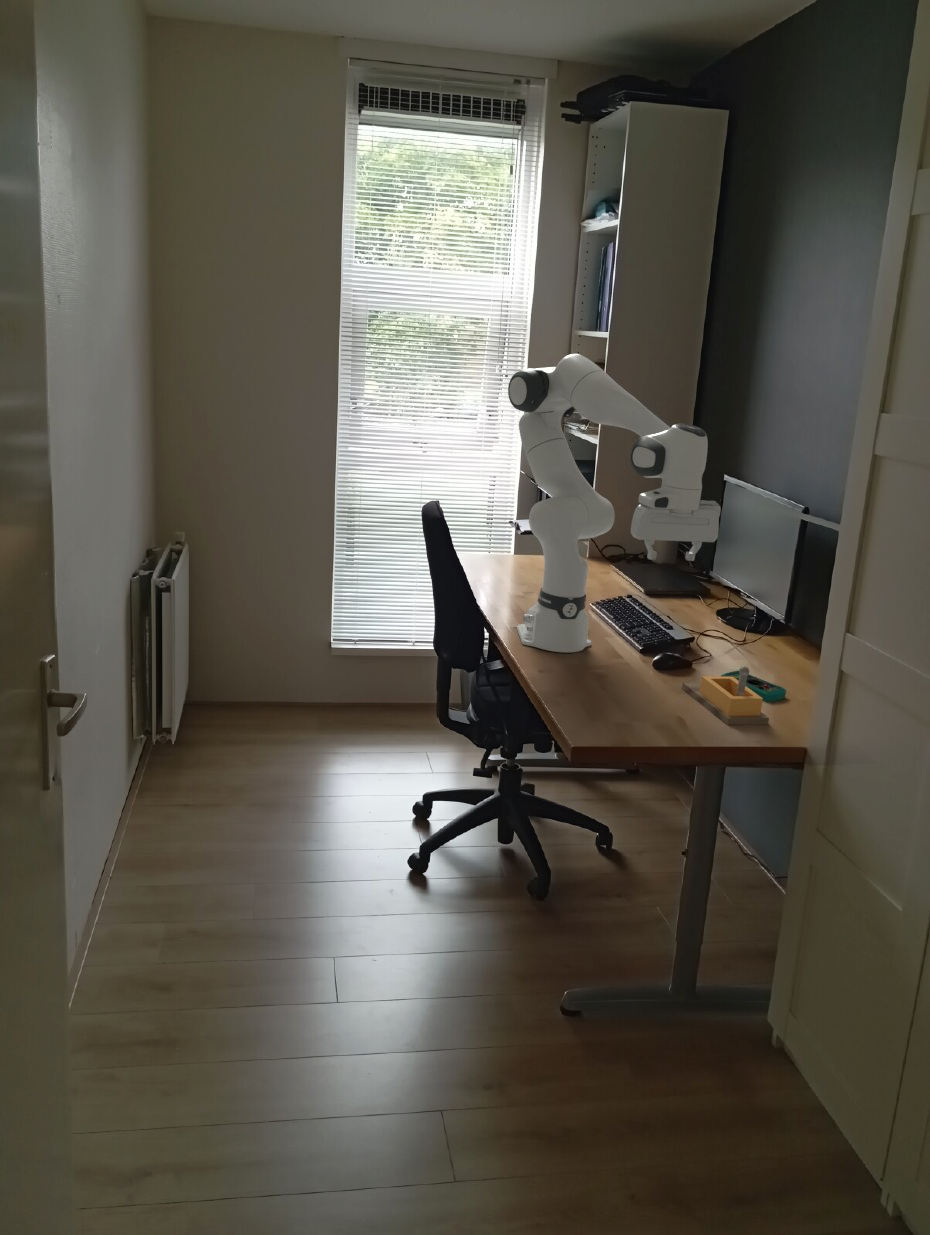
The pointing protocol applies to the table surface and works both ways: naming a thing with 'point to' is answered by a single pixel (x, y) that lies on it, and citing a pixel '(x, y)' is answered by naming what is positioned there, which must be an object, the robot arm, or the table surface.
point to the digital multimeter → (760, 687)
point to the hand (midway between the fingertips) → (670, 559)
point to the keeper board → (694, 689)
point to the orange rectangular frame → (730, 696)
